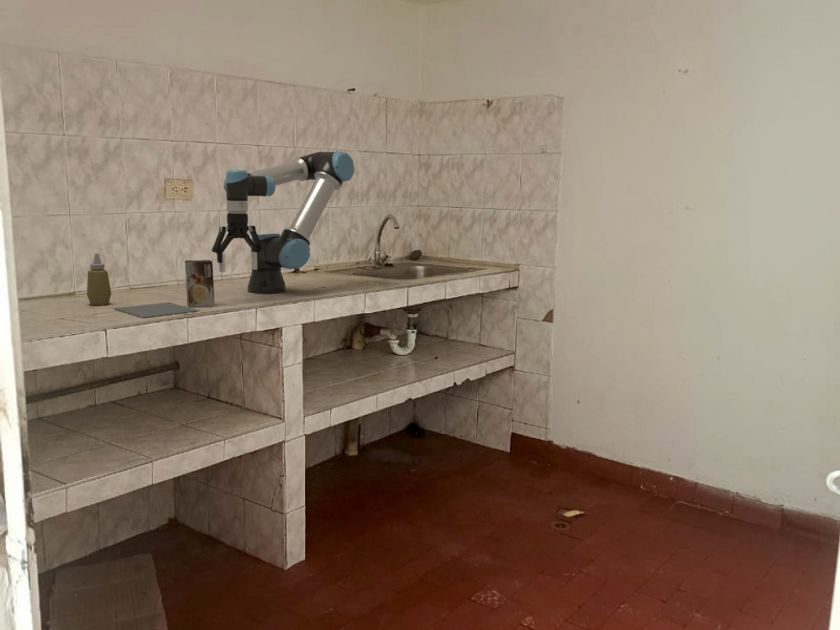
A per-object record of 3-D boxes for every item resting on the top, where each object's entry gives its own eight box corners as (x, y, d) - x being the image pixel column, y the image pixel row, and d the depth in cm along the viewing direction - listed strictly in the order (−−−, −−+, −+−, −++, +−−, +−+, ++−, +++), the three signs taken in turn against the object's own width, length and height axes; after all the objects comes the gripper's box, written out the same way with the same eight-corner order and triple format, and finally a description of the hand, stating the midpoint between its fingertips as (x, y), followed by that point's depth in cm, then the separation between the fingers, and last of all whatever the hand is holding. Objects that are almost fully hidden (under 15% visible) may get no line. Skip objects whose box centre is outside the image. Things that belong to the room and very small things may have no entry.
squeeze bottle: (90, 307, 259) (87, 255, 256) (84, 303, 265) (81, 253, 262) (114, 305, 264) (111, 254, 260) (108, 301, 270) (105, 252, 267)
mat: (168, 303, 269) (168, 302, 269) (199, 311, 254) (199, 310, 254) (113, 309, 255) (113, 308, 255) (143, 318, 240) (143, 317, 240)
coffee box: (212, 303, 271) (211, 259, 268) (214, 306, 265) (213, 261, 262) (186, 304, 267) (184, 260, 264) (188, 307, 262) (186, 262, 259)
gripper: (211, 213, 260) (213, 273, 264) (272, 212, 278) (272, 269, 281) (201, 212, 265) (202, 271, 269) (260, 211, 283) (261, 267, 287)
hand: (238, 270), depth 275 cm, fingers open, 13 cm apart
